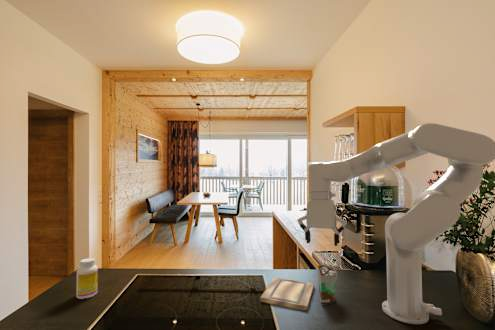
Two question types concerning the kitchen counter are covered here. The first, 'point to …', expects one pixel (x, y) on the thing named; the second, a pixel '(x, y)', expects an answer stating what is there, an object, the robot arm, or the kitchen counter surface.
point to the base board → (288, 293)
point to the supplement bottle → (87, 279)
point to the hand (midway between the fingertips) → (322, 243)
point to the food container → (327, 283)
